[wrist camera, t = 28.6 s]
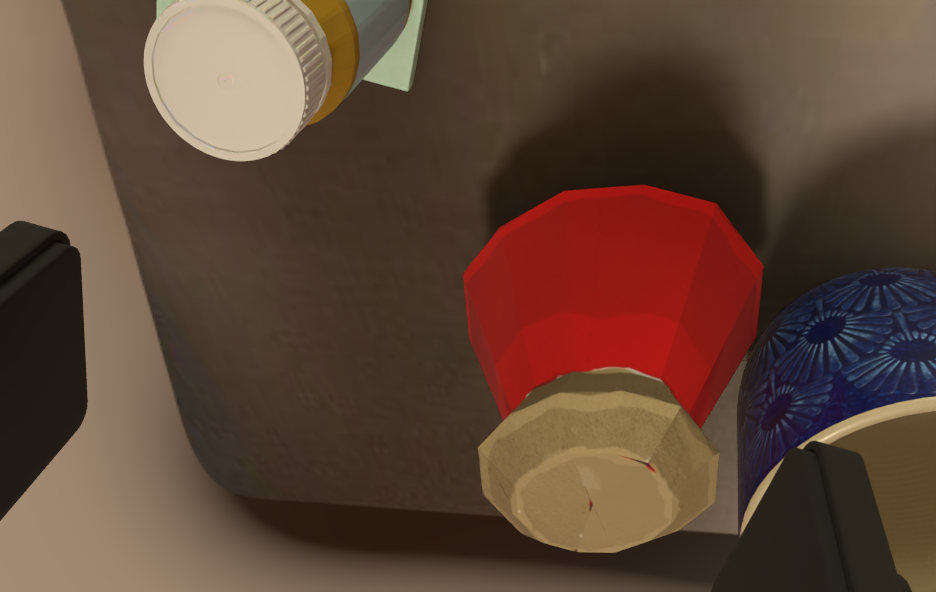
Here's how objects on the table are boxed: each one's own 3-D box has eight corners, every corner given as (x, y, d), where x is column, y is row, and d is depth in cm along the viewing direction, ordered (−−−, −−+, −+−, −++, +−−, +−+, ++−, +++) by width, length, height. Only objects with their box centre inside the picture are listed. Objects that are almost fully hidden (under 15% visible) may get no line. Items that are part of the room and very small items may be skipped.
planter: (1102, 265, 46) (1276, 463, 33) (946, 492, 55) (1035, 716, 42) (780, 186, 46) (829, 350, 34) (680, 423, 56) (689, 622, 43)
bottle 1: (430, -59, 42) (335, 21, 29) (396, 76, 46) (298, 198, 33) (293, -108, 42) (139, -49, 29) (270, 31, 46) (124, 136, 33)
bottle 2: (719, 98, 45) (760, 306, 28) (780, 313, 50) (843, 592, 34) (442, 186, 50) (336, 405, 33) (526, 371, 56) (471, 637, 39)
